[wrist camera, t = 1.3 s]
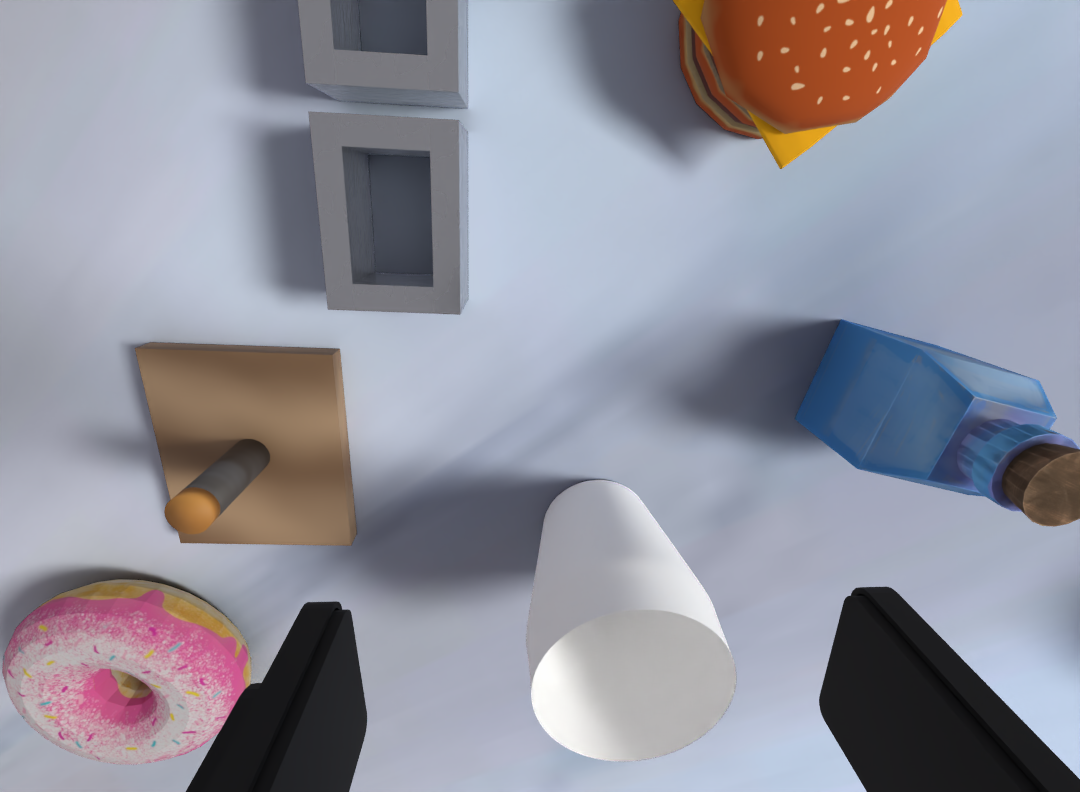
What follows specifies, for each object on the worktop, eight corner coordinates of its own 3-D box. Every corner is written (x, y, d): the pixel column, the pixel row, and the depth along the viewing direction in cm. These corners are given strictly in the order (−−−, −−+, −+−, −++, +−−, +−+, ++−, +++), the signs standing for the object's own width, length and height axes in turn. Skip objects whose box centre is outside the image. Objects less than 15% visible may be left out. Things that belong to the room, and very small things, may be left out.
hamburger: (629, 28, 24) (668, -34, 18) (805, -155, 22) (919, -299, 16) (747, 189, 26) (818, 185, 20) (914, 39, 24) (1049, -18, 18)
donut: (9, 630, 35) (-71, 698, 30) (138, 522, 32) (73, 578, 27) (176, 738, 39) (128, 812, 34) (302, 650, 36) (269, 717, 31)
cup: (539, 592, 35) (548, 778, 24) (511, 476, 32) (506, 627, 20) (672, 568, 35) (746, 745, 23) (657, 448, 31) (734, 587, 20)
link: (340, 124, 25) (308, 111, 21) (468, 132, 25) (458, 120, 21) (354, 294, 27) (327, 309, 24) (468, 298, 28) (460, 314, 24)
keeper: (150, 342, 28) (32, 387, 21) (339, 348, 28) (284, 395, 22) (192, 531, 32) (105, 618, 25) (356, 533, 33) (314, 620, 26)
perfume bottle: (794, 418, 31) (950, 542, 20) (840, 319, 29) (1043, 394, 18) (886, 441, 32) (1086, 572, 21) (937, 345, 30) (1191, 433, 18)
